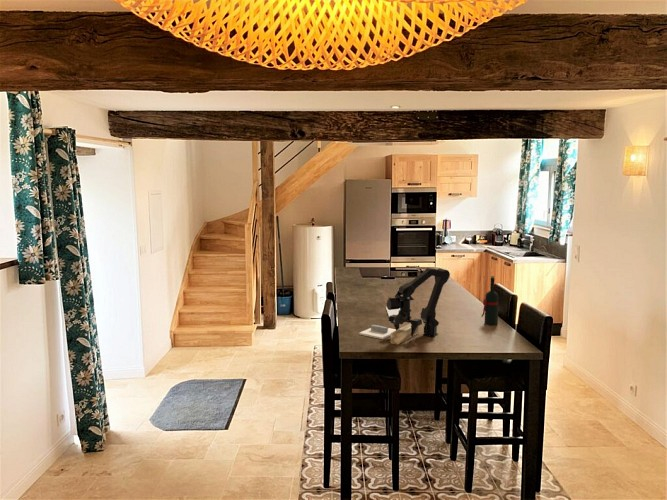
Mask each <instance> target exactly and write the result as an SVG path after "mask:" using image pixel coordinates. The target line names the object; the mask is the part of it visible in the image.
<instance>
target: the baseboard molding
mask: <svg viewBox="0 0 667 500" xmlns="http://www.w3.org/2000/svg"><path fill="white" fill-rule="evenodd" d="M385 309H386V312H387V315H388V317H389V316H391V315H397V314H398V313H399V310H400V308H399V309H394V310H388V308H387V306H385Z"/></svg>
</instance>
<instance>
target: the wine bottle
mask: <svg viewBox="0 0 667 500" xmlns="http://www.w3.org/2000/svg"><path fill="white" fill-rule="evenodd" d="M489 287H490V291H489V290H488V291H487V292H486V294H485V298H483V303H482V304H483V310H482V314H481V318H484V324H485V325H487V326H497V325H498V323H499V294H498V293H497V292H496V291H495V276H494V275H490V286H489Z"/></svg>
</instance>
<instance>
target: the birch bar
mask: <svg viewBox="0 0 667 500" xmlns="http://www.w3.org/2000/svg"><path fill="white" fill-rule="evenodd" d="M416 334H417V335H418V334H419V326H418V327H417V328H416V330H415V333H414V335H415V336H417V335H416ZM414 335H413V337H415V336H414ZM411 338H412V337H411V323H408V324H406V325H404V326H402V327H399V329H398V330H396V331H394V332H392V333H391V336H390V344H394V345H398V346H399V345H400V344H402V343H403V342H406V341H407V340H409V339H411Z"/></svg>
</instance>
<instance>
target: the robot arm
mask: <svg viewBox="0 0 667 500" xmlns="http://www.w3.org/2000/svg"><path fill="white" fill-rule="evenodd" d="M450 276H451V273H450V271H449V270H447V269H444V268H441V267H439V268H437V269H436V268H431V267H427V268H425V270H424V271H423V272H421V273H420V274H418V276H416V277H415V278H413V279H412V280H411V281H409V282H405V283H404V284H402V285H400V286H399V287H398V291H397V292H396V294H395V295H394V297H388V299H387V302H386V307H387V308H388V310H394V309H399V308H400V310H399V313H398V314H397V315H391V316H389V315H388V322H390V324H392V325H393V327H394V329H396V330H398V329H400V325H403V324H404V323H408V324H410V323H411V338H413V337H414V336H413V335H414V333H415V330H416V328H417V327H418V328H419V326H421V325H423V324H424V326H423V334H422V335H423V336H426V337H430V338H431V337H432V338H434V337H436V336H437V335H439V333H437V329H438V328H437V327H439V324H440V322H439V321H438V320H437V319H436V316H437V314H436V313H437V312H436V308H437V305H438V302H439V298H440V296H441V293H442V290H443V287H444V285H445V284H446V283H447V282H448V281H449V279H450ZM430 277H434V285H433V287H432V290H431V293H430V296H429V299H428V302H427V305H426V307H422V308H421V312H420V313H419V314H420V318H416V317H415V318H413V319H412V316H411V312H412V309H411V301H414V300H415V299H414V298H413V297H412V295H413V294H414V293H415V291H416V289H417V288H418V287H420V286H421V285H423V283H425V282H426V281H427V280H428V279H429V278H430ZM412 336H413V337H412Z"/></svg>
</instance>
